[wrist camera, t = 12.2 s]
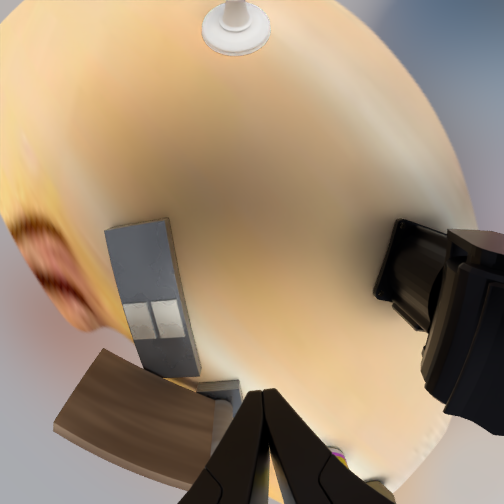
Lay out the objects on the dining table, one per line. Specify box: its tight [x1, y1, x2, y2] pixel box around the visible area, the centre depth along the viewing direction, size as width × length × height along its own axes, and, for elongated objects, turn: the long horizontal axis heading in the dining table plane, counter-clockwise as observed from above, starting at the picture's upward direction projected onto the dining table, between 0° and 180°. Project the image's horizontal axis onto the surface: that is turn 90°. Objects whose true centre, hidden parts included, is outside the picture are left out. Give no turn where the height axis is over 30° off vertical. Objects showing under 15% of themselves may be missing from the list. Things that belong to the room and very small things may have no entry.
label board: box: [104, 218, 243, 418], centre depth 21 cm, size 8×18×1 cm, turn 7°
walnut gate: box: [53, 348, 233, 491], centre depth 17 cm, size 2×12×9 cm, turn 62°
